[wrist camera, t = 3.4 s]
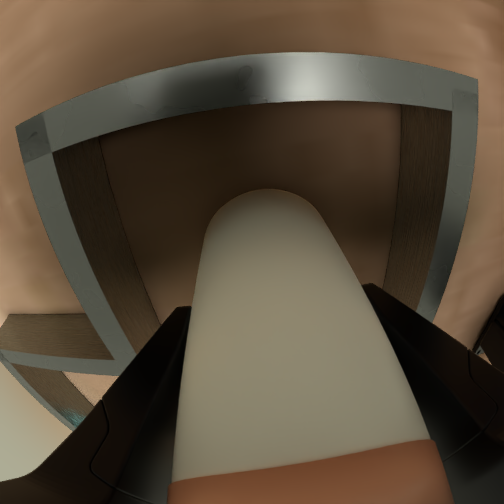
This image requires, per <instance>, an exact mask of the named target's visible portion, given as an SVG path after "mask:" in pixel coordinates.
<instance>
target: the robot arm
mask: <svg viewBox="0 0 504 504" xmlns="http://www.w3.org/2000/svg"><path fill="white" fill-rule="evenodd" d="M361 286H362V288H363V290H364V292H365V294H366V296H367V298H368V299H369V301H370V303H371V305H372V307H373V309H374V311H375V313H376V315H377V317H378V319H379V321H380V323H381V325H382V327H383V329H384V331H385V333H386V335H387V337H388V339H389V341H390V343H391V346H392V348H393V350H394V352H395V354H396V356H397V358H398V361H399V363H400V365H401V367H402V370H403V372H404V374H405V376H406V379H407V381H408V383H409V386H410V388H411V390H412V393H413V395H414V397H415V400H416V402H417V405H418V407H419V410H420V412H421V415H422V417H423V420H424V423H425V425H426V428H427V431H428V433H429V436H430V439H431V440H433V441H435V443H436V446H437V449H438V451H439V454H440V457H441V460H442V463H443V466H444V469H445V473H446V476H447V479H448V482H449V486H450V489H451V493H452V496H453V500H454V504H504V296H503V297H502V298H501V300H500V301H499V303H498V306H497V308H496V310H495V312H494V314H493V316H492V318H491V319H490V321H489V323H488V325H487V327H486V329H485V331H484V332H483V334H482V336H481V338H480V339H479V341H478V343H477V344H476V346H475V348H474V349H473V351H471V350H470V349H468V350H467V347H465V346H464V345H463V344H461V343H460V342H458V341H457V340H456V339H454V338H453V337H451V336H450V335H449V334H447V333H446V332H444V331H443V330H442V329H440V328H439V327H437V326H436V325H434V324H433V323H431V322H430V321H429V320H427V319H426V318H424V317H423V316H421V315H420V314H418V313H417V312H415V311H414V310H412V309H411V308H410V307H408V306H407V305H405V304H404V303H402V302H401V301H399V300H398V299H396V298H395V297H393V296H392V295H390V294H389V293H387V292H386V291H384V290H382V289H381V288H379V287H378V286H376V285H375V284H373V283H369V284H363V285H361ZM191 309H192V307H191V306H182V307H177V308H176V309H175V310H174V311H173V312H172V313H171V314H170V316H169V317H168V318H167V319H166V320H165V321H164V323H163V324H162V325H161V326H160V327H159V329H158V330H157V331H156V332H155V333H154V335H153V336H152V337H151V338H150V339H149V341H148V342H147V343H146V344H145V345H144V347H143V348H142V349H141V350H140V351H139V353H138V354H137V355H136V356H135V357H134V359H133V360H132V361H131V362H130V364H129V365H128V366H127V367H126V368H125V370H124V371H123V372H122V373H121V374H120V376H119V377H118V378H117V379H116V381H115V382H114V383H113V384H112V386H111V387H110V388H109V389H108V390H107V392H106V393H105V394H104V395H103V397H102V400H99V401H98V403H97V404H96V405H95V406H94V408H93V409H92V410H91V411H90V413H89V414H88V415H87V416H86V417H85V418H84V420H83V421H82V422H81V423H80V424H79V425H78V427H77V428H76V429H75V430H74V431H73V432H72V433H71V434H70V435H69V436H68V437H67V438H66V439H65V440H64V441H63V442H62V443H61V444H60V445H59V446H58V447H57V449H55V451H53V453H52V454H51V455H50V456H49V457H48V458H47V459H46V460H45V461H44V462H43V463H42V464H41V465H40V466H38V467H37V468H36V469H35V470H33V471H32V472H31V473H29V474H27V475H25V476H22V477H19V478H15V479H11V480H6V481H2V482H0V504H167V492H168V486H169V485H170V484H171V481H172V467H173V454H174V443H175V432H176V422H177V413H178V404H179V395H180V387H181V379H182V371H183V363H184V356H185V349H186V342H187V335H188V329H189V322H190V316H191ZM483 352H484V353H485V354H486V356H487V357H488V359H489V361H490V362H491V364H492V365H491V364H489V363H488V362H486V361H485V360H484V359H482V358H481V357H479V356H478V355H479V354H481V353H483Z"/></svg>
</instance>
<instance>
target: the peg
mask: <svg viewBox="0 0 504 504" xmlns="http://www.w3.org/2000/svg"><path fill="white" fill-rule="evenodd" d="M167 504H454V500H453V496H452V493H451V489H450V486H449V482H448V479H447V476H446V473H445V469H444V466H443V463H442V460H441V457H440V454H439V451H438V449H437V446H436V443H435V441H433V440H431V439H430V436H429V433H428V431H427V428H426V425H425V423H424V420H423V417H422V415H421V412H420V410H419V407H418V405H417V402H416V400H415V397H414V395H413V393H412V390H411V388H410V386H409V383H408V381H407V379H406V376H405V374H404V372H403V370H402V367H401V365H400V363H399V361H398V358H397V356H396V354H395V352H394V350H393V348H392V346H391V343H390V341H389V339H388V337H387V335H386V333H385V331H384V329H383V327H382V325H381V323H380V321H379V319H378V317H377V315H376V313H375V311H374V309H373V307H372V305H371V303H370V301H369V299H368V298H367V296H366V294H365V292H364V290H363V288H362V286H361V284H360V283H359V281H358V279H357V277H356V275H355V273H354V272H353V270H352V268H351V266H350V264H349V263H348V261H347V259H346V257H345V256H344V254H343V252H342V250H341V249H340V247H339V245H338V243H337V242H336V240H335V238H334V237H333V235H332V233H331V231H330V230H329V228H328V226H327V225H326V223H325V222H324V220H323V218H322V217H321V215H320V214H319V212H318V211H317V210H316V208H315V207H314V206H313V205H312V204H311V203H309V202H308V201H307V200H305V199H304V198H302V197H300V196H298V195H296V194H294V193H291V192H288V191H284V190H279V189H260V190H254V191H250V192H247V193H243V194H241V195H239V196H237V197H235V198H233V199H232V200H230V201H228V202H227V203H226V204H225V205H223V206H222V207H221V208H220V209H219V210H218V211H217V212H216V213H215V215H214V216H213V218H212V219H211V221H210V223H209V225H208V227H207V229H206V233H205V236H204V242H203V247H202V252H201V257H200V263H199V268H198V274H197V280H196V285H195V291H194V297H193V303H192V309H191V316H190V322H189V329H188V335H187V342H186V349H185V356H184V363H183V371H182V379H181V387H180V395H179V404H178V413H177V422H176V432H175V443H174V454H173V467H172V481H171V484H170V485H169V486H168V492H167Z"/></svg>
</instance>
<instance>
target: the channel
mask: <svg viewBox="0 0 504 504" xmlns="http://www.w3.org/2000/svg"><path fill="white" fill-rule="evenodd" d="M317 100H343V101H371V102H386V103H398V104H401V110H402V127H401V158H400V174H399V186H398V197H397V206H396V215H395V222H394V230H393V236H392V243H391V249H390V255H389V261H388V266H387V271H386V276H385V281H384V286H383V290H384V291H386V292H387V293H389V294H390V295H392V296H393V297H395V298H396V299H398V300H399V301H401V302H402V303H404V304H405V305H407V306H408V307H410V308H411V309H412V310H414V311H415V312H417V313H418V314H420V315H421V316H423V317H424V318H426V319H427V320H429V321H430V322H431V323H432V322H433V319H434V317H435V314H436V312H437V309H438V307H439V304H440V302H441V299H442V296H443V293H444V291H445V288H446V285H447V282H448V279H449V276H450V273H451V270H452V266H453V263H454V260H455V256H456V253H457V249H458V246H459V242H460V238H461V234H462V230H463V226H464V221H465V217H466V212H467V207H468V202H469V197H470V191H471V185H472V178H473V171H474V163H475V154H476V143H477V129H478V79H475V78H472V77H469V76H466V75H462V74H459V73H455V72H452V71H448V70H444V69H440V68H436V67H432V66H428V65H423V64H418V63H413V62H408V61H402V60H396V59H390V58H383V57H375V56H367V55H356V54H344V53H323V52H286V53H265V54H252V55H242V56H233V57H225V58H218V59H211V60H205V61H199V62H193V63H188V64H183V65H178V66H174V67H169V68H165V69H161V70H157V71H153V72H149V73H145V74H142V75H138V76H135V77H131V78H128V79H125V80H121V81H118V82H115V83H112V84H109V85H106V86H103V87H101V88H98V89H95V90H93V91H90V92H87V93H85V94H82V95H80V96H77V97H75V98H72V99H70V100H68V101H65V102H63V103H61V104H59V105H57V106H54V107H52V108H50V109H48V110H46V111H44V112H42V113H40V114H38V115H36V116H34V117H32V118H30V119H28V120H26V121H25V122H23V123H21V124H19V125H17V126H16V127H15V128H16V133H17V138H18V142H19V146H20V151H21V155H22V159H23V163H24V166H25V170H26V173H27V177H28V180H29V184H30V187H31V190H32V193H33V196H34V199H35V202H36V205H37V208H38V211H39V213H40V216H41V219H42V222H43V224H44V227H45V229H46V232H47V234H48V237H49V239H50V242H51V244H52V246H53V249H54V251H55V253H56V255H57V258H58V260H59V262H60V264H61V266H62V268H63V271H64V273H65V275H66V277H67V279H68V281H69V283H70V285H71V287H72V289H73V291H74V292H75V294H76V296H77V298H78V300H79V302H80V304H81V305H82V307H83V309H84V311H85V313H86V314H64V315H9V316H8V317H7V319H6V320H5V322H4V323H3V325H2V326H1V328H0V361H1V362H2V364H3V365H4V366H5V367H6V368H7V369H8V371H9V372H10V373H11V374H12V375H13V376H14V377H15V378H16V379H17V380H18V381H19V383H20V384H21V385H22V386H23V387H24V388H25V389H26V390H27V391H28V392H29V393H30V394H31V395H32V396H33V397H34V398H35V399H36V400H37V401H38V402H39V403H40V404H42V405H43V406H44V407H45V408H46V409H47V410H48V411H49V412H50V413H52V414H53V415H54V416H55V417H56V418H57V419H58V420H59V421H61V422H62V423H63V424H64V425H65V426H67V427H68V428H69V429H70V430H72V431H74V430H75V429H76V428H77V427H78V425H79V424H80V423H81V422H82V421H83V420H84V418H85V417H86V416H87V415H88V414H89V413H90V411H91V410H92V409H93V408H94V407H93V406H92V405H91V403H90V402H89V401H88V400H87V399H86V398H85V397H84V396H83V395H82V394H81V393H80V392H79V391H78V390H77V389H76V388H75V387H74V386H73V384H72V383H71V382H70V381H69V380H68V379H67V378H66V377H65V375H64V374H63V373H62V372H61V371H66V372H75V373H85V374H96V375H111V376H120V374H121V373H122V372H123V371H124V370H125V368H126V367H127V366H128V365H129V364H130V362H131V361H132V360H133V359H134V357H135V356H136V355H137V354H138V353H139V351H140V350H141V349H142V348H143V347H144V345H145V344H146V343H147V342H148V341H149V339H150V338H151V337H152V336H153V335H154V333H155V332H156V331H157V330H158V329H159V327H160V326H161V325H160V323H159V321H158V319H157V316H156V314H155V312H154V309H153V307H152V305H151V302H150V300H149V298H148V295H147V293H146V290H145V288H144V285H143V283H142V280H141V277H140V275H139V272H138V270H137V267H136V264H135V261H134V259H133V256H132V253H131V250H130V248H129V245H128V242H127V239H126V236H125V233H124V230H123V227H122V224H121V221H120V217H119V214H118V211H117V208H116V204H115V201H114V198H113V194H112V191H111V187H110V183H109V180H108V176H107V172H106V168H105V164H104V160H103V156H102V152H101V148H100V143H99V139H98V136H99V135H103V134H106V133H109V132H113V131H116V130H119V129H123V128H127V127H130V126H134V125H138V124H142V123H146V122H150V121H155V120H159V119H163V118H168V117H173V116H178V115H183V114H188V113H194V112H199V111H205V110H212V109H219V108H226V107H233V106H242V105H251V104H261V103H273V102H289V101H317Z"/></svg>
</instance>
